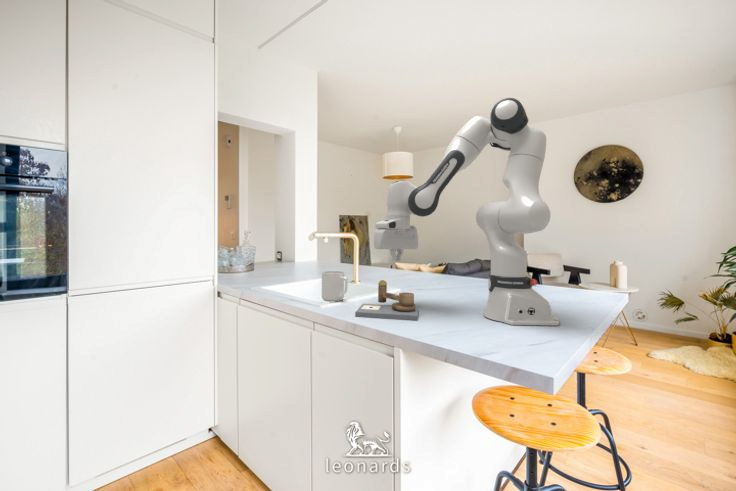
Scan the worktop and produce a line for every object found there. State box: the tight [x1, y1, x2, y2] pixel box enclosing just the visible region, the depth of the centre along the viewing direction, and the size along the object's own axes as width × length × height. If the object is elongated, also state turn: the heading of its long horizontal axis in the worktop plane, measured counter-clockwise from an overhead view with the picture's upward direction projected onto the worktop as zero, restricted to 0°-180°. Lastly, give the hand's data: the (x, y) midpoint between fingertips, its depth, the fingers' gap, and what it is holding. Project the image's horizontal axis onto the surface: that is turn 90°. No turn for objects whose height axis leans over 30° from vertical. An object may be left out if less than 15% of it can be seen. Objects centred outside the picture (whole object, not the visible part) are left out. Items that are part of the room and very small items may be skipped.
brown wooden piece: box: [377, 279, 417, 311], centre depth 121 cm, size 16×8×8 cm, turn 40°
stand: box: [354, 303, 420, 321], centre depth 117 cm, size 20×13×2 cm, turn 80°
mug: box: [321, 270, 349, 303], centre depth 137 cm, size 12×9×11 cm
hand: (396, 261), depth 130 cm, fingers closed
